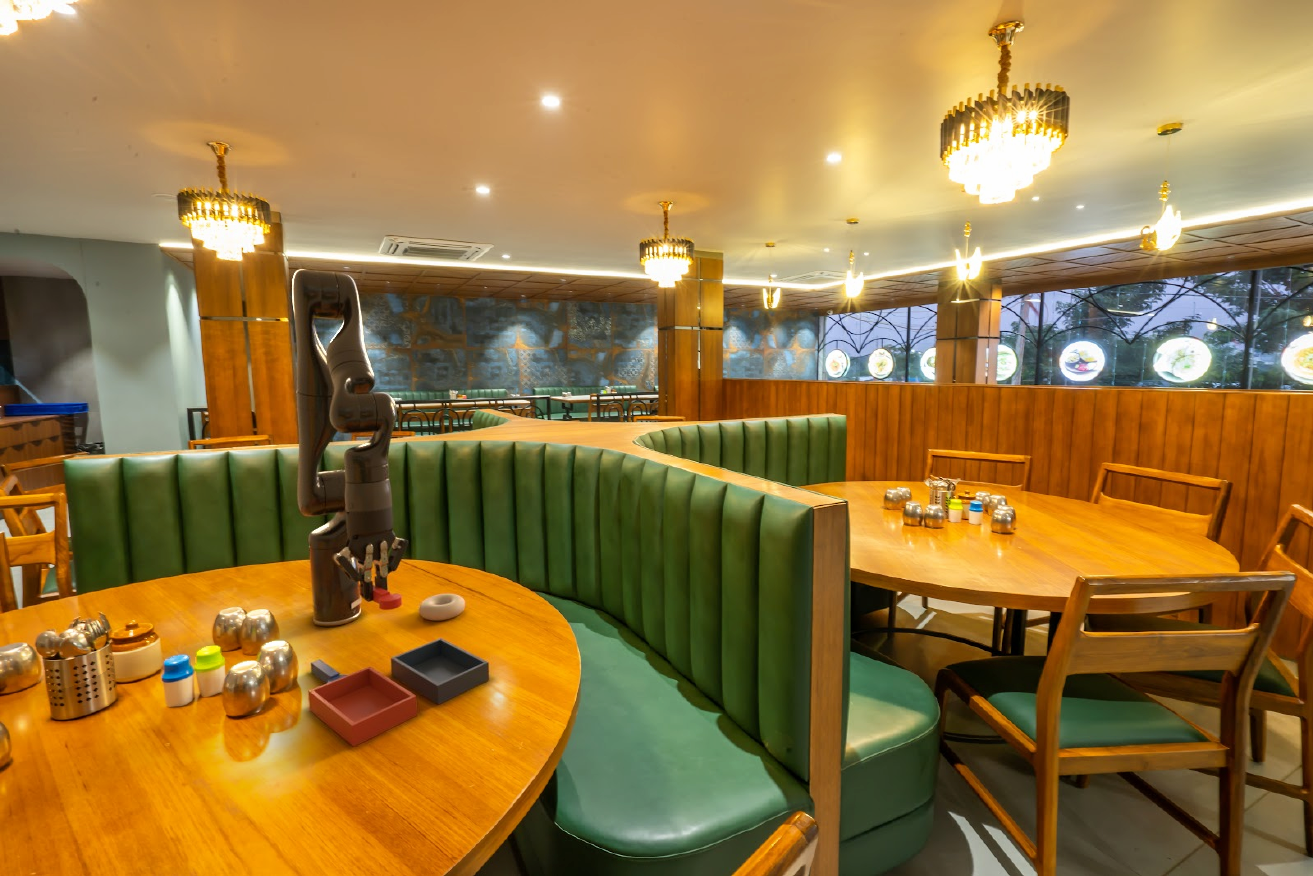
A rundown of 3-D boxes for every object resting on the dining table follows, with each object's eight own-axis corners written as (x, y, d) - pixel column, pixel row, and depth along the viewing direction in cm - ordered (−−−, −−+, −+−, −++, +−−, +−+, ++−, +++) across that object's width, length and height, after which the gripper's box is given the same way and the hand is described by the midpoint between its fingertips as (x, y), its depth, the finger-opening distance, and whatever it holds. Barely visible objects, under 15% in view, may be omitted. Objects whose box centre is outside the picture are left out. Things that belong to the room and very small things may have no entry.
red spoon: (354, 596, 109) (353, 586, 108) (373, 590, 111) (372, 580, 111) (386, 611, 102) (385, 600, 102) (405, 605, 105) (405, 594, 104)
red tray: (309, 710, 98) (308, 690, 97) (370, 684, 106) (369, 666, 105) (353, 747, 88) (352, 725, 88) (417, 715, 96) (416, 696, 96)
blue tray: (391, 675, 109) (390, 658, 108) (441, 654, 117) (441, 638, 116) (438, 705, 99) (437, 686, 99) (489, 680, 107) (488, 662, 107)
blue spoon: (305, 675, 108) (304, 664, 108) (326, 667, 111) (325, 657, 111) (333, 696, 102) (332, 685, 101) (354, 687, 104) (354, 676, 104)
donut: (409, 621, 131) (450, 624, 129) (408, 606, 131) (450, 609, 129) (435, 604, 141) (473, 606, 139) (434, 590, 141) (473, 592, 139)
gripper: (394, 495, 113) (399, 583, 115) (319, 509, 102) (325, 605, 104) (416, 500, 109) (420, 592, 111) (339, 515, 98) (345, 616, 100)
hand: (374, 598), depth 108 cm, fingers closed on red spoon, 1 cm apart
